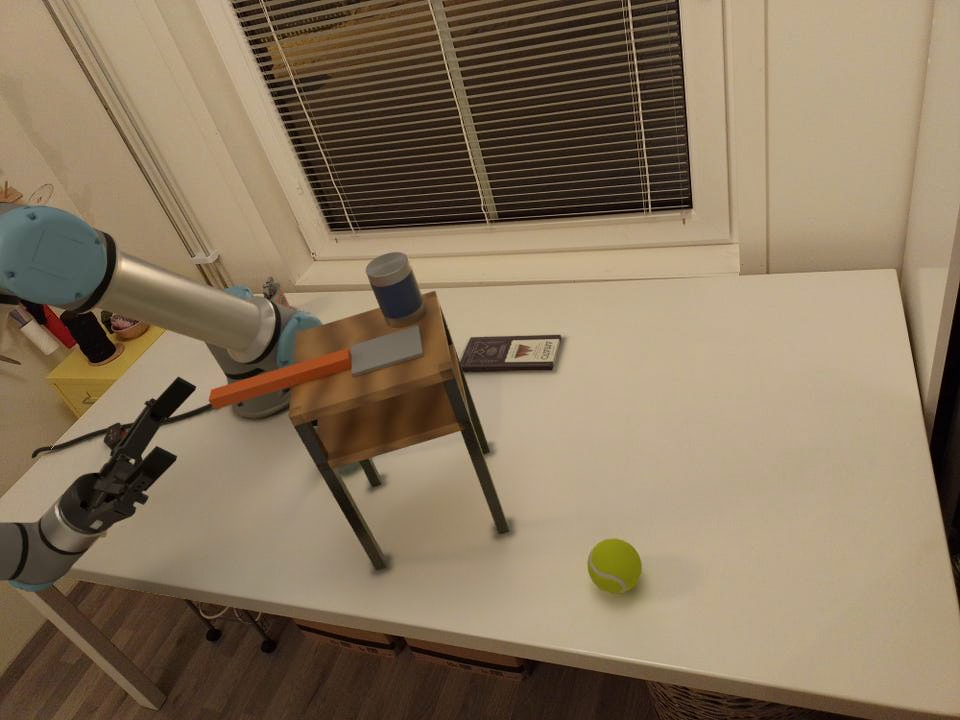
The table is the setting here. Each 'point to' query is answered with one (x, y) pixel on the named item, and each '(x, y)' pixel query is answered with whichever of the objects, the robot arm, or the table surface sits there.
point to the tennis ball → (614, 566)
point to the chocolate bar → (511, 353)
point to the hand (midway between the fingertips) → (177, 415)
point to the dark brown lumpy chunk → (114, 435)
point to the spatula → (326, 366)
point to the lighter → (274, 292)
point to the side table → (385, 408)
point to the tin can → (396, 289)
